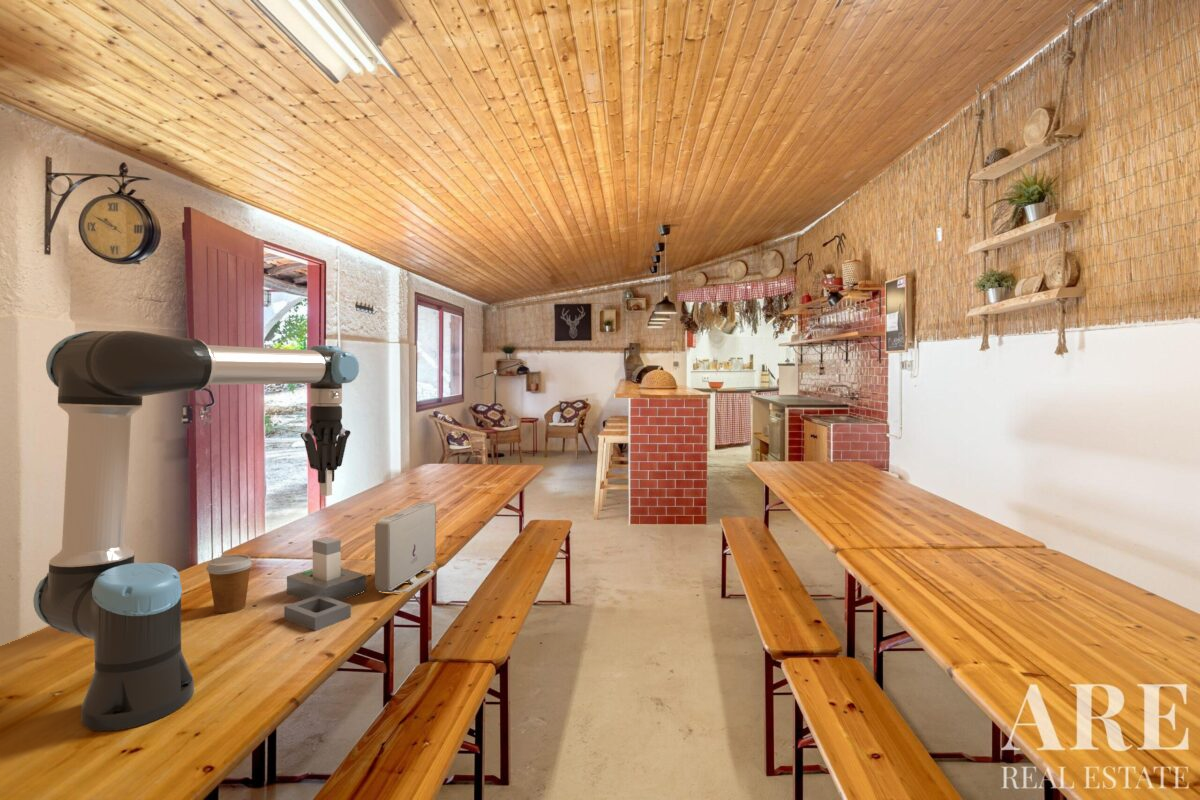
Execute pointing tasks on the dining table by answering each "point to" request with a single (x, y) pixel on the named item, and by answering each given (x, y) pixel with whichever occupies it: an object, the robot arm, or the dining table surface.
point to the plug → (326, 558)
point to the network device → (405, 547)
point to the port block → (326, 585)
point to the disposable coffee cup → (229, 582)
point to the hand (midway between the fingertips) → (326, 494)
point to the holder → (329, 612)
